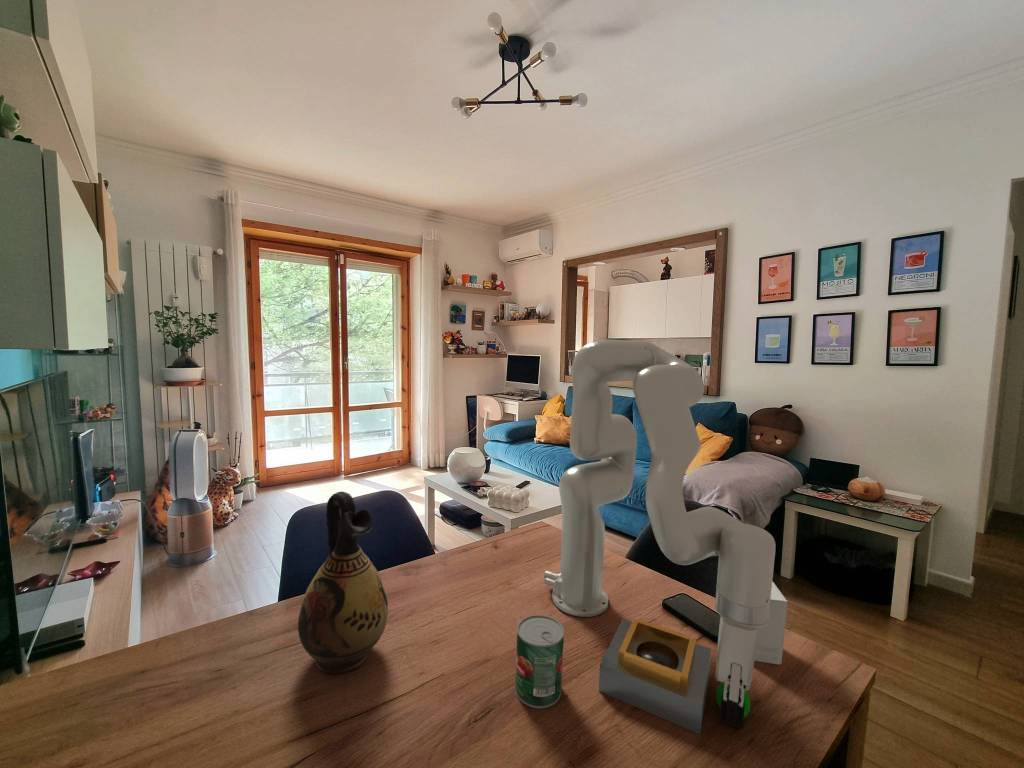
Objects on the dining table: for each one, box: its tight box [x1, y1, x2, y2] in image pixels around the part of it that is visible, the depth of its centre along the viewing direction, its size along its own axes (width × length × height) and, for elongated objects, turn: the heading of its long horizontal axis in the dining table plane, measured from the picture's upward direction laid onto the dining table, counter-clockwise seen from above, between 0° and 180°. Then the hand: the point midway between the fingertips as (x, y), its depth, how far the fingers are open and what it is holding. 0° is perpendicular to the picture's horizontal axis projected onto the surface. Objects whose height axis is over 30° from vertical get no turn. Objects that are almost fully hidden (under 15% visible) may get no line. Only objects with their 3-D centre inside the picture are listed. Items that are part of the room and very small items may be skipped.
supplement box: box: [755, 581, 788, 665], centre depth 86 cm, size 7×7×13 cm
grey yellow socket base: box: [598, 618, 712, 735], centre depth 78 cm, size 16×17×7 cm
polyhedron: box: [715, 682, 751, 718], centre depth 71 cm, size 5×5×5 cm
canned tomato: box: [514, 614, 565, 709], centre depth 75 cm, size 8×8×11 cm
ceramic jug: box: [297, 491, 389, 676], centre depth 81 cm, size 17×15×30 cm
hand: (732, 709), depth 72 cm, fingers open, 5 cm apart
